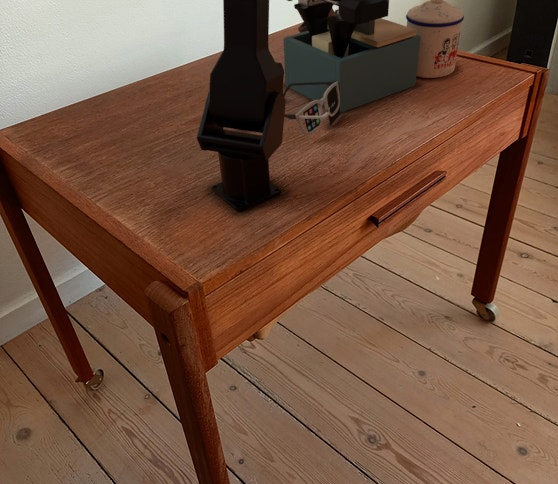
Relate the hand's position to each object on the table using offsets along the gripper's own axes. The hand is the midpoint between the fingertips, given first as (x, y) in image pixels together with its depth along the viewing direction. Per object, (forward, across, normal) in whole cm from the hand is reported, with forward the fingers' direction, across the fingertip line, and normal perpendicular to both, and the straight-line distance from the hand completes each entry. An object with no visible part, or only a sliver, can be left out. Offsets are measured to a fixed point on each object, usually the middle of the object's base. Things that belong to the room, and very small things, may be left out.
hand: (330, 56), depth 90 cm
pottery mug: (+6, +16, -13) cm, 21 cm away
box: (+6, 0, -4) cm, 7 cm away
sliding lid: (-2, 0, -7) cm, 7 cm away
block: (+1, 0, 0) cm, 1 cm away
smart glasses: (+4, -6, +10) cm, 13 cm away
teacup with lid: (+6, -3, -20) cm, 21 cm away
